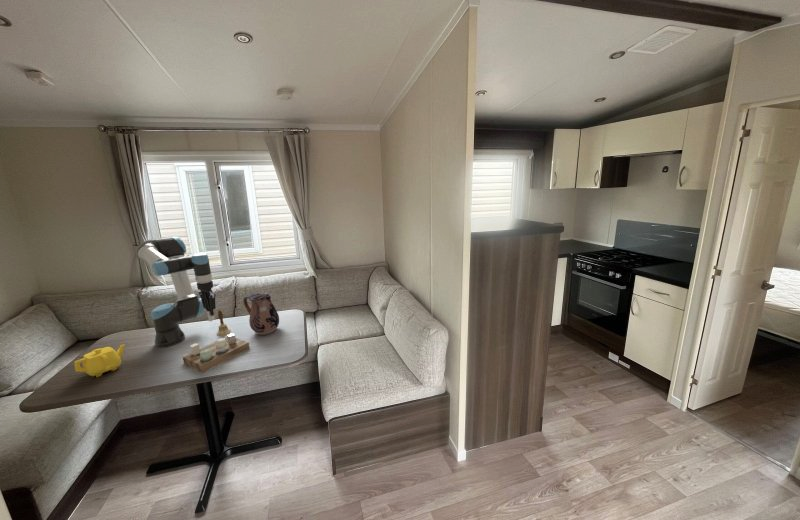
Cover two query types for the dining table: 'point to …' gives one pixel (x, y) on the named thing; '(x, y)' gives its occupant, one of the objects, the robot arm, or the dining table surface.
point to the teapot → (100, 361)
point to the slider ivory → (195, 349)
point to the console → (215, 355)
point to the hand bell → (222, 326)
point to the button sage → (206, 354)
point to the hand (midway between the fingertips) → (211, 320)
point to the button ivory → (220, 343)
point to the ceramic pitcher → (262, 313)
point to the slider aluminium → (231, 339)
